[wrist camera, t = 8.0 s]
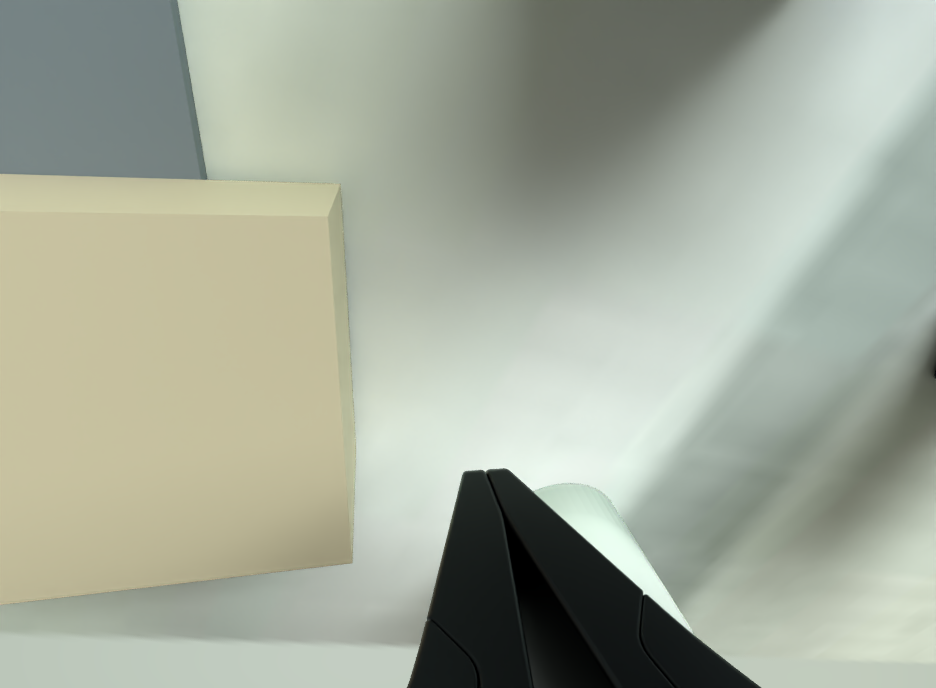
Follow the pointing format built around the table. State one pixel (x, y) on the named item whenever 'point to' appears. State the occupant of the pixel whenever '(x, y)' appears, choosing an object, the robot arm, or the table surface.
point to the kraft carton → (171, 382)
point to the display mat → (96, 90)
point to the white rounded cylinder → (608, 537)
